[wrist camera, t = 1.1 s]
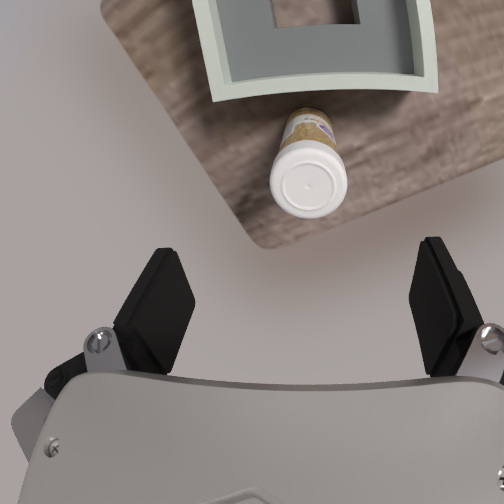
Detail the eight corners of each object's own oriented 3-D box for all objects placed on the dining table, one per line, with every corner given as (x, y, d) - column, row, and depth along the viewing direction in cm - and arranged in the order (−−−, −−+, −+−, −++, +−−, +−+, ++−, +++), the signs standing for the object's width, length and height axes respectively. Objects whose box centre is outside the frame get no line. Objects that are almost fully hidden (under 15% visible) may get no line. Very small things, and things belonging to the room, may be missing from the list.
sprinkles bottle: (340, 121, 26) (364, 176, 16) (316, 158, 29) (321, 233, 18) (298, 97, 26) (292, 134, 15) (276, 136, 28) (254, 199, 18)
